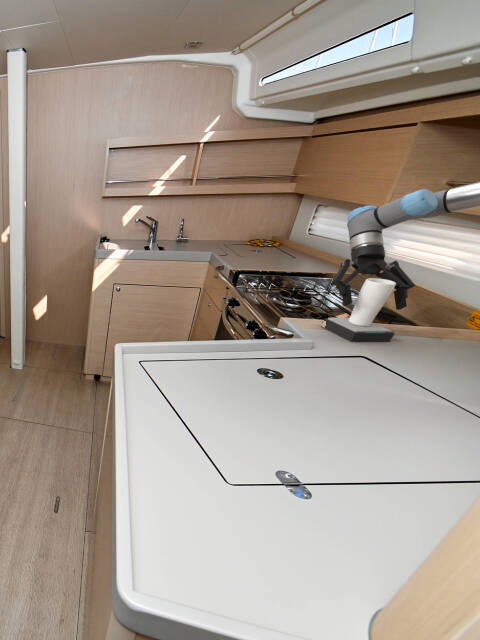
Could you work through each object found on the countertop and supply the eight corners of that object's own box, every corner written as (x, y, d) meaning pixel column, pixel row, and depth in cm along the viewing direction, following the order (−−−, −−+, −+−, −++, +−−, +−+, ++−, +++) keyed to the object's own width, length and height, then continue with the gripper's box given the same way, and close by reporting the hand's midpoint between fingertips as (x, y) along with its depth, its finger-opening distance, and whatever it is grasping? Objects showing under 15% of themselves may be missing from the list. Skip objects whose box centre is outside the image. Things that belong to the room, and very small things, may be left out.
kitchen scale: (389, 341, 115) (395, 331, 113) (350, 341, 116) (356, 331, 114) (355, 326, 126) (361, 316, 124) (320, 326, 126) (325, 316, 125)
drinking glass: (346, 325, 118) (368, 282, 111) (342, 318, 123) (363, 276, 116) (375, 329, 115) (399, 285, 108) (370, 322, 120) (393, 279, 113)
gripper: (405, 257, 119) (414, 314, 113) (314, 253, 126) (318, 307, 121) (426, 244, 112) (436, 304, 107) (329, 241, 120) (334, 298, 114)
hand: (374, 306), depth 114 cm, fingers open, 13 cm apart
